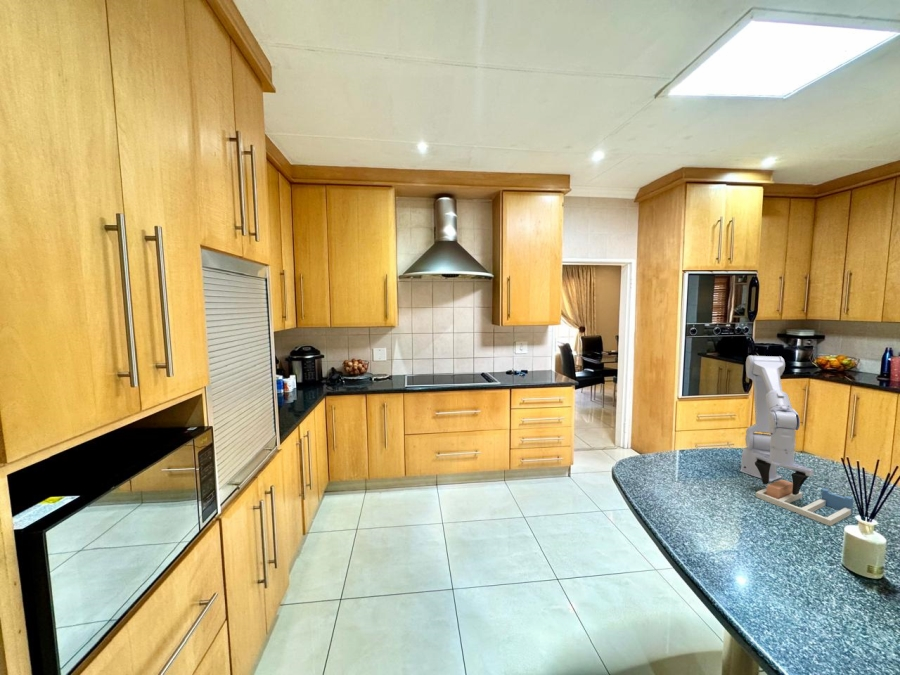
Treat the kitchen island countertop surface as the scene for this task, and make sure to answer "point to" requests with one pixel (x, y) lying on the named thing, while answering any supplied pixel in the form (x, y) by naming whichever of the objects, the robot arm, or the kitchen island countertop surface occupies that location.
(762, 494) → the comb organizer
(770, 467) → the robot arm
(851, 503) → the blue bracket
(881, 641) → the kitchen island countertop surface
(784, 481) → the tall peach block
